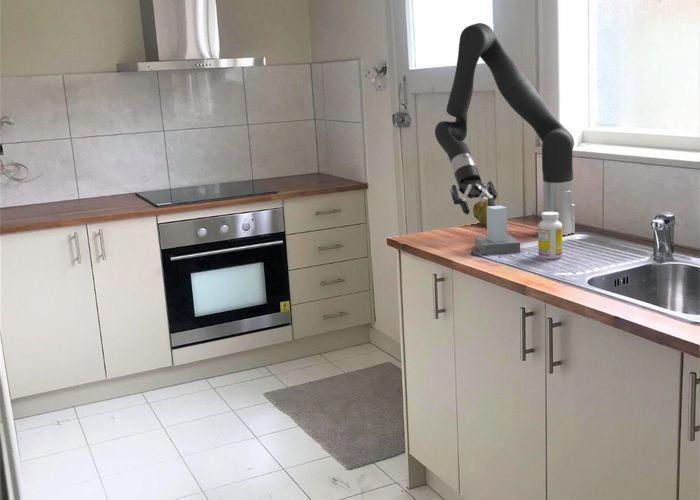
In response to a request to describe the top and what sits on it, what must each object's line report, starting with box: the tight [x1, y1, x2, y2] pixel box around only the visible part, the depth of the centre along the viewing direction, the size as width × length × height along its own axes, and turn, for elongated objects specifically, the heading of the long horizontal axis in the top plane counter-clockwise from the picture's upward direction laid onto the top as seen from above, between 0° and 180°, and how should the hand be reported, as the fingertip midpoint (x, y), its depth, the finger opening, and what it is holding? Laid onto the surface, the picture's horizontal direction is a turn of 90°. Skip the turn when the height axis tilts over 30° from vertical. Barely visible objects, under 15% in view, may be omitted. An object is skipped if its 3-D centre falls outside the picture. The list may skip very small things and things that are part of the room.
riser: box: [474, 234, 521, 255], centre depth 235 cm, size 11×11×3 cm
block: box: [486, 204, 508, 242], centre depth 234 cm, size 4×4×10 cm
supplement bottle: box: [537, 211, 563, 260], centre depth 222 cm, size 7×7×13 cm
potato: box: [472, 200, 489, 227], centre depth 269 cm, size 8×13×8 cm, turn 7°
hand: (480, 211), depth 244 cm, fingers open, 8 cm apart
